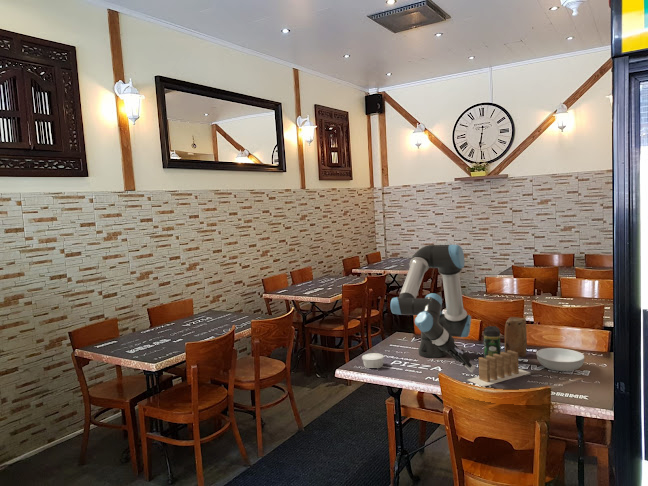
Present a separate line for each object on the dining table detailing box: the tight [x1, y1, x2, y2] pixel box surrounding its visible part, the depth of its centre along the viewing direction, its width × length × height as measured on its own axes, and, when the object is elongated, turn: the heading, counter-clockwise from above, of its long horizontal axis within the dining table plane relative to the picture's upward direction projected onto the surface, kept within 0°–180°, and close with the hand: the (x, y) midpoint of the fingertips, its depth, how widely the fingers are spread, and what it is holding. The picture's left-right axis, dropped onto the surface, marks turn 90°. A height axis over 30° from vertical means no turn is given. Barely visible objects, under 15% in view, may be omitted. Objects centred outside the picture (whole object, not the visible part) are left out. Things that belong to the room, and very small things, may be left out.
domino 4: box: [500, 351, 512, 376], centre depth 224 cm, size 2×5×10 cm, turn 27°
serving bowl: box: [536, 347, 585, 372], centre depth 231 cm, size 21×21×7 cm
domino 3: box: [493, 354, 505, 378], centre depth 222 cm, size 2×5×10 cm, turn 27°
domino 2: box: [486, 355, 497, 380], centre depth 220 cm, size 2×5×10 cm, turn 26°
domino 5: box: [507, 350, 520, 374], centre depth 226 cm, size 2×5×10 cm, turn 27°
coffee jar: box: [483, 325, 502, 359], centre depth 242 cm, size 10×8×19 cm
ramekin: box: [361, 352, 385, 369], centre depth 249 cm, size 11×11×5 cm
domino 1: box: [478, 356, 490, 382], centre depth 218 cm, size 2×5×10 cm, turn 26°
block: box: [504, 316, 528, 358], centre depth 252 cm, size 11×8×20 cm
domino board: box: [467, 368, 531, 388], centre depth 222 cm, size 30×10×1 cm, turn 117°
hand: (472, 369), depth 215 cm, fingers closed
